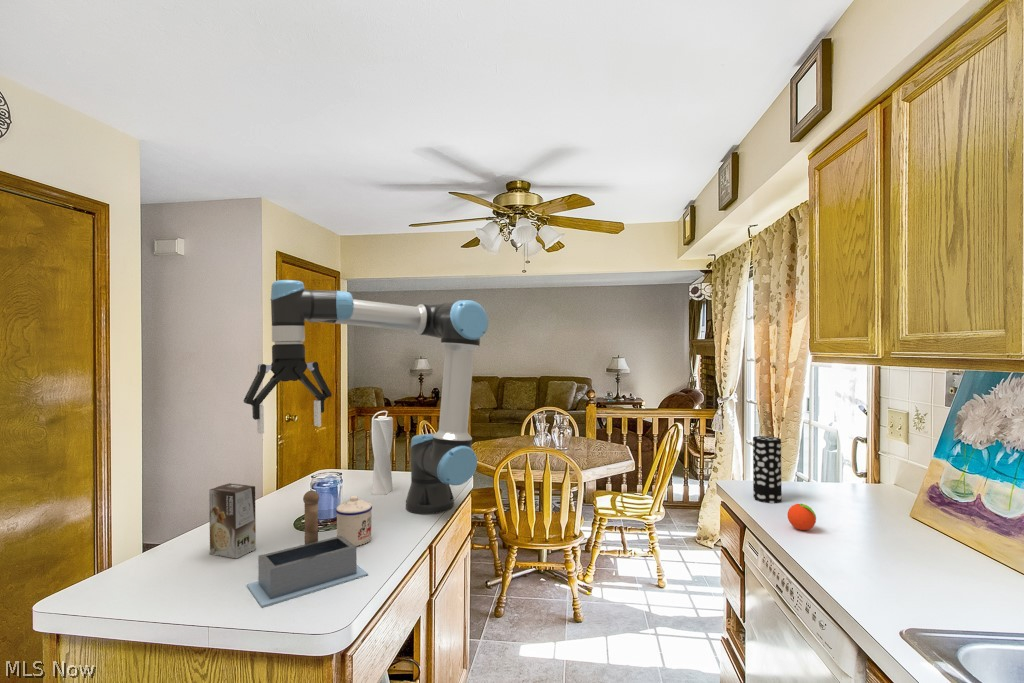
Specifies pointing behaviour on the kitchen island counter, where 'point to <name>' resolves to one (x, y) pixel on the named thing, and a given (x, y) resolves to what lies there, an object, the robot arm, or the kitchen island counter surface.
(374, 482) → the skyscraper
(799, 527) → the clementine
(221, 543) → the coffee box
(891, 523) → the kitchen island counter surface
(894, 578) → the kitchen island counter surface
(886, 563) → the kitchen island counter surface
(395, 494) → the kitchen island counter surface
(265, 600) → the slate mat
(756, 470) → the spotted tube
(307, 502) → the walnut peg
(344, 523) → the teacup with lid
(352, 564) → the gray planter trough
